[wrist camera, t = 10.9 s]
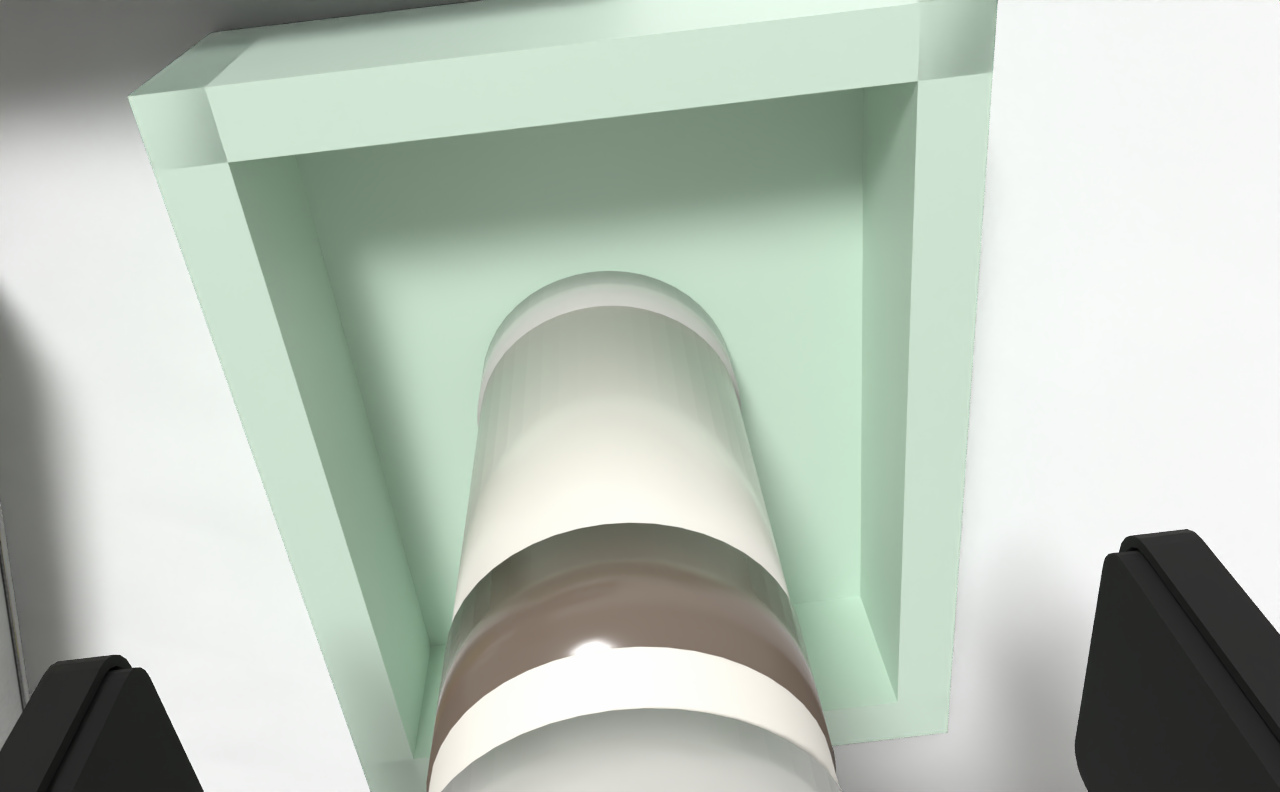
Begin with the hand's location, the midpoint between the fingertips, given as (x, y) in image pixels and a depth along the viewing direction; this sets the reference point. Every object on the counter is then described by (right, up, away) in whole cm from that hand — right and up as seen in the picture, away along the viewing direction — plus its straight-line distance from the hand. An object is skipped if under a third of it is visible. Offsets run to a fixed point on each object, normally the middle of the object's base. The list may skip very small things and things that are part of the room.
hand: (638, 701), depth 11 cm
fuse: (0, +3, +5) cm, 6 cm away
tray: (0, +3, +6) cm, 7 cm away
